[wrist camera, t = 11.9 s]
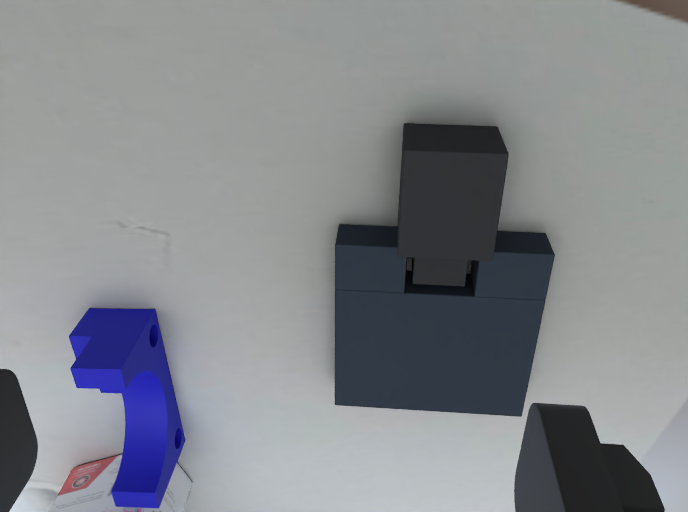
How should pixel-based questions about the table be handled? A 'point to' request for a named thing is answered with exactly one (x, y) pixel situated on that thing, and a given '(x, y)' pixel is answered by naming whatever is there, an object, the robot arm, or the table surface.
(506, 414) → the grey pad
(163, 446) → the blue half-round bracket
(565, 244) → the table surface
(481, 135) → the black usb stick
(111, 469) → the ink cartridge box
